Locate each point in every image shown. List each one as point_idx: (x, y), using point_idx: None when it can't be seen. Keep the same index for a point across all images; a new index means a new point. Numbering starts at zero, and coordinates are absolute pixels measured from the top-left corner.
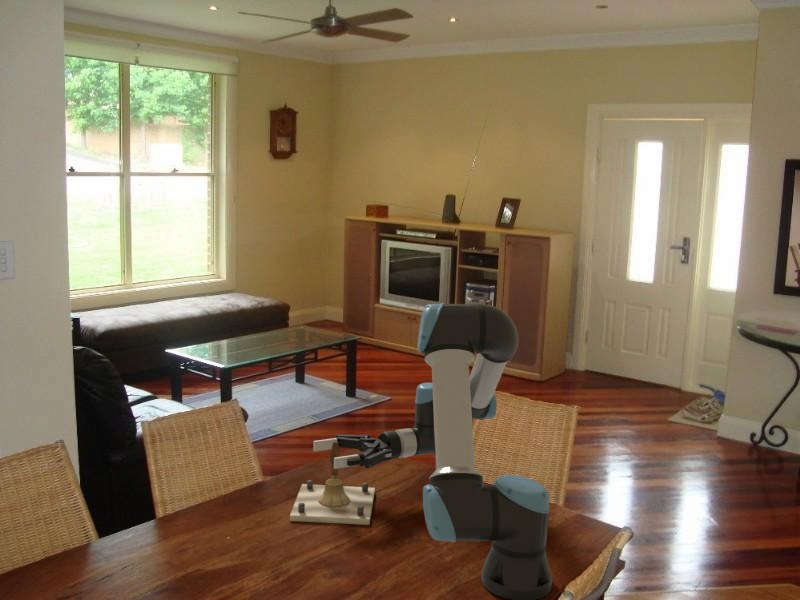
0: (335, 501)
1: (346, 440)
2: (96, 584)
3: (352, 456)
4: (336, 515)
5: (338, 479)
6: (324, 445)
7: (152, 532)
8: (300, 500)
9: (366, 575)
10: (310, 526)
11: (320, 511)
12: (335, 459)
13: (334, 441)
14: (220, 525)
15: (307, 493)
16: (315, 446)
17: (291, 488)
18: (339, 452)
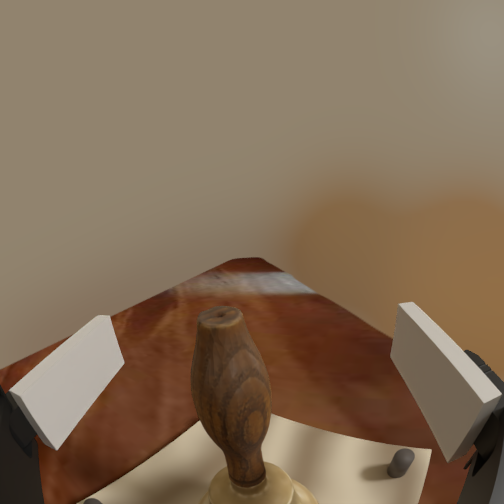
0: (207, 497)
1: (486, 494)
2: (210, 275)
3: (37, 368)
4: (149, 472)
5: (232, 496)
6: (420, 369)
7: (287, 292)
8: (305, 436)
9: (7, 389)
10: (176, 427)
11: (202, 455)
12: (97, 319)
13: (462, 403)
14: (274, 330)
15: (354, 460)
16: (397, 334)
17: (433, 435)
18: (193, 396)
